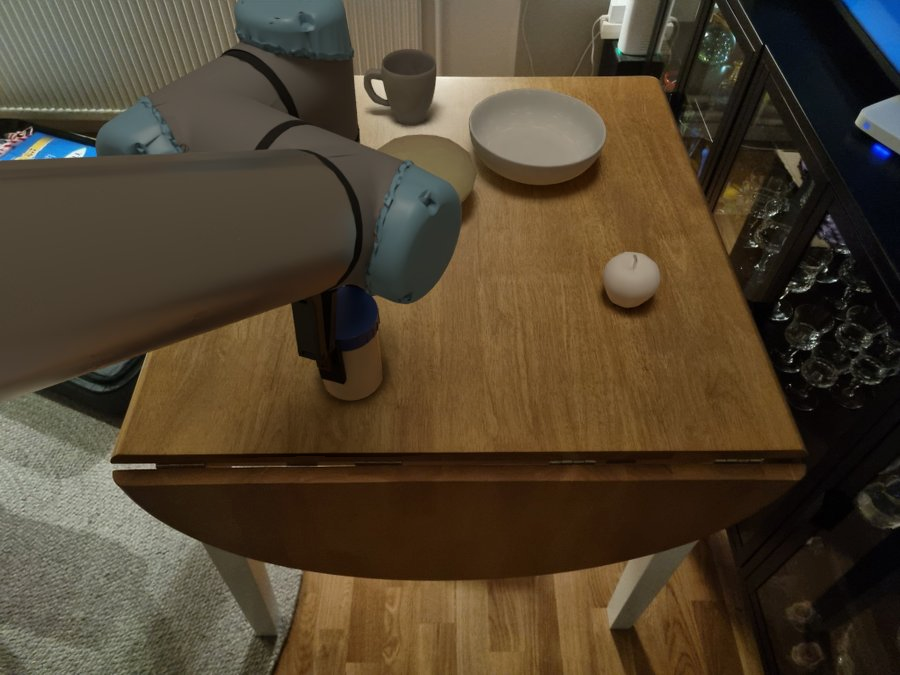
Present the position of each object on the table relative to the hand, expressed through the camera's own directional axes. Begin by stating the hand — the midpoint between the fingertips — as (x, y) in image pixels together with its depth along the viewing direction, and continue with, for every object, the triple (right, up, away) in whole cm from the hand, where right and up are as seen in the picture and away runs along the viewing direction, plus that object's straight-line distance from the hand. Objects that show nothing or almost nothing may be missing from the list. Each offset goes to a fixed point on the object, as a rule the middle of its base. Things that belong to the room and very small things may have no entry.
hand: (348, 350), depth 72 cm
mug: (+3, +39, +39) cm, 55 cm away
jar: (0, -3, +4) cm, 5 cm away
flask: (+7, +20, +23) cm, 31 cm away
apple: (+34, +7, +13) cm, 37 cm away
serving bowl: (+25, +29, +31) cm, 49 cm away
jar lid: (0, +4, -5) cm, 6 cm away
